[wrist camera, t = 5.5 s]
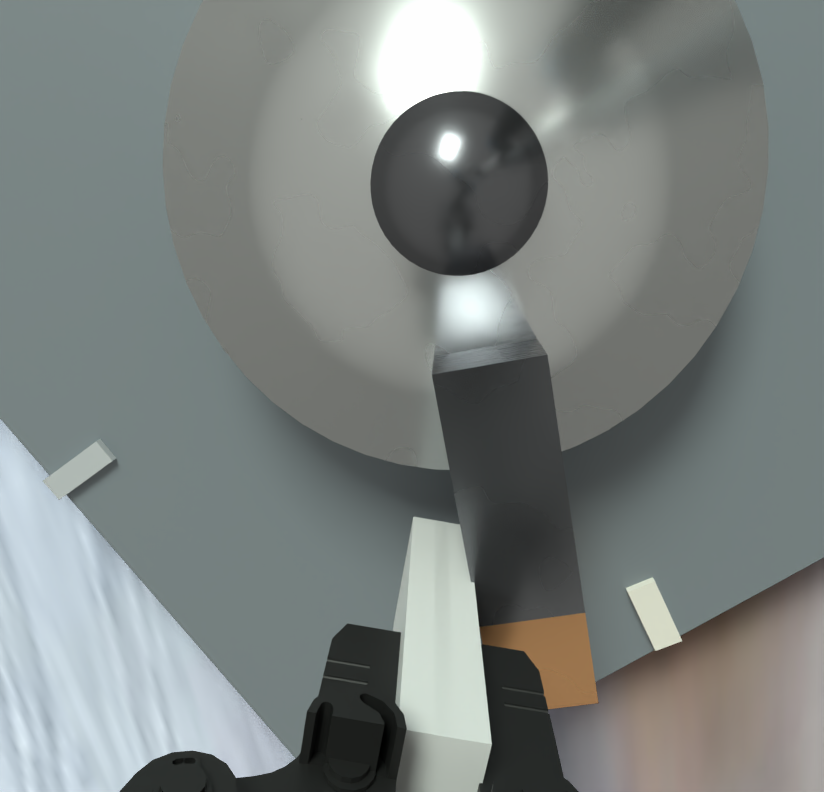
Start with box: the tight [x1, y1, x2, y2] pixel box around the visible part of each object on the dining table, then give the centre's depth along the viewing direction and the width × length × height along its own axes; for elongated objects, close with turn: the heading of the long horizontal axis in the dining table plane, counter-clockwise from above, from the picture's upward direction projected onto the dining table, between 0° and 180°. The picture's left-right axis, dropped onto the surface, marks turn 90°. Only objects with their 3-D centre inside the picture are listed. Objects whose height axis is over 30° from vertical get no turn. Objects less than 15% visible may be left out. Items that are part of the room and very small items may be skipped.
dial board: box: [0, 0, 824, 758], centre depth 16 cm, size 24×24×2 cm
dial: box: [163, 0, 769, 709], centre depth 13 cm, size 16×11×4 cm
